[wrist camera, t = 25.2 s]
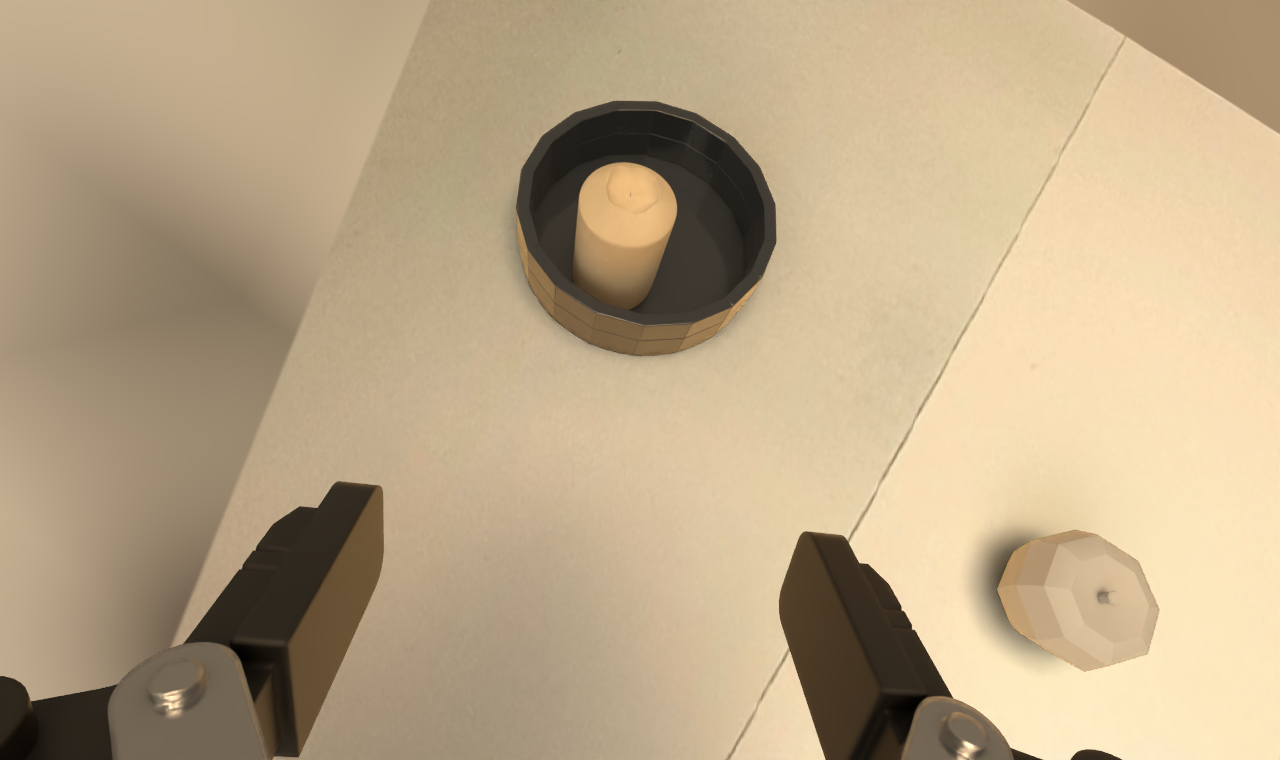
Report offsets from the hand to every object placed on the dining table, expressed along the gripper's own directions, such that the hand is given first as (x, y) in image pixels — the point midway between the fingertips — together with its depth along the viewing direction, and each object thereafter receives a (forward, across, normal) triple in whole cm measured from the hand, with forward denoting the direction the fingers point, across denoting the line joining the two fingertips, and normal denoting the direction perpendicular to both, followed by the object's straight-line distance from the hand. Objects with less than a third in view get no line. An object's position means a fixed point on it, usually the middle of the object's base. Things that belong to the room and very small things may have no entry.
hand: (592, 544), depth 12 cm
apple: (+19, -30, +17) cm, 40 cm away
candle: (+32, -1, +4) cm, 32 cm away
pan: (+34, -3, +2) cm, 35 cm away
